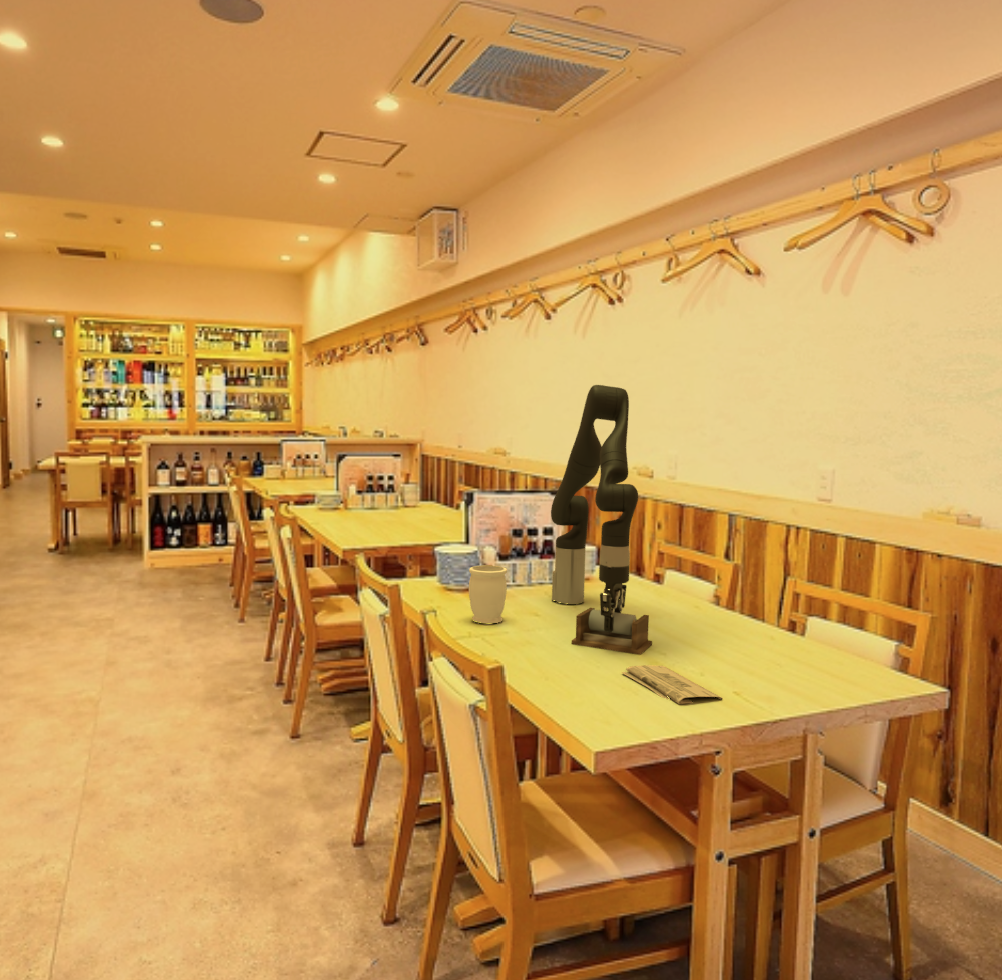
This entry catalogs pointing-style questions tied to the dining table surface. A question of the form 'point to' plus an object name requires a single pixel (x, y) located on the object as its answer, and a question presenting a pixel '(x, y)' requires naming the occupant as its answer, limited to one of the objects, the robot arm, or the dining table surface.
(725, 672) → the dining table surface
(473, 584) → the jar
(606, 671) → the dining table surface
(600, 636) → the holder
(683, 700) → the newspaper
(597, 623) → the cylinder
